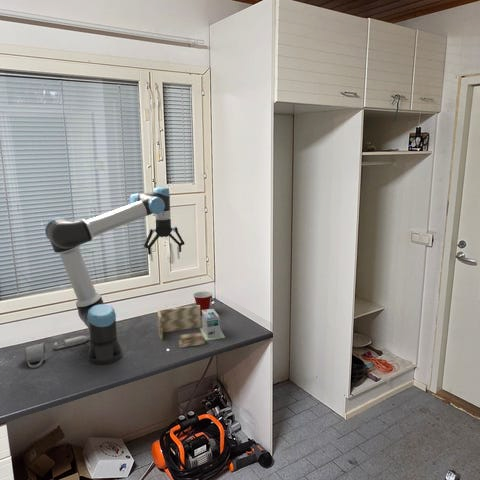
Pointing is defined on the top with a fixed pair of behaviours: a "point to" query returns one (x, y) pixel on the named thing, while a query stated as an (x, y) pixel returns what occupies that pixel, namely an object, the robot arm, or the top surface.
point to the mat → (212, 337)
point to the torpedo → (71, 342)
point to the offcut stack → (191, 340)
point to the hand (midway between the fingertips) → (165, 259)
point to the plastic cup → (203, 300)
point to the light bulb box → (210, 323)
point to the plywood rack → (178, 319)
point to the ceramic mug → (35, 354)
